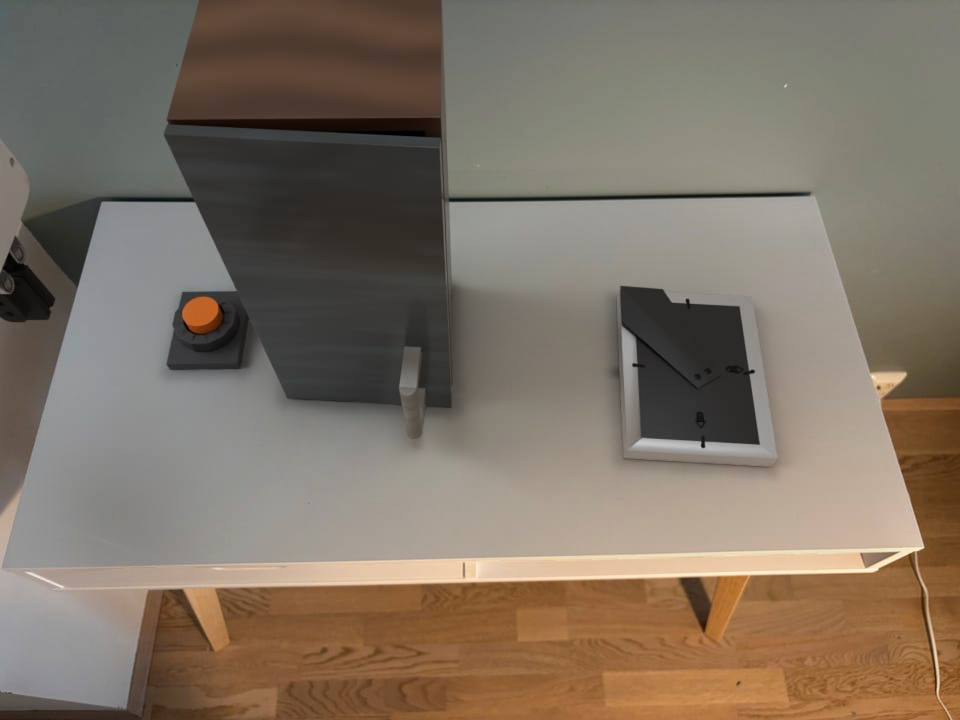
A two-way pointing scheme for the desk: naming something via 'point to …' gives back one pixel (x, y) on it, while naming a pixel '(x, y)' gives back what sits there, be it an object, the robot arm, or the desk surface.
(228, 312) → the control block
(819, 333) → the desk surface
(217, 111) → the cupboard
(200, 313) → the button
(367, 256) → the cupboard door
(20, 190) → the robot arm
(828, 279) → the desk surface
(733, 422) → the picture frame
